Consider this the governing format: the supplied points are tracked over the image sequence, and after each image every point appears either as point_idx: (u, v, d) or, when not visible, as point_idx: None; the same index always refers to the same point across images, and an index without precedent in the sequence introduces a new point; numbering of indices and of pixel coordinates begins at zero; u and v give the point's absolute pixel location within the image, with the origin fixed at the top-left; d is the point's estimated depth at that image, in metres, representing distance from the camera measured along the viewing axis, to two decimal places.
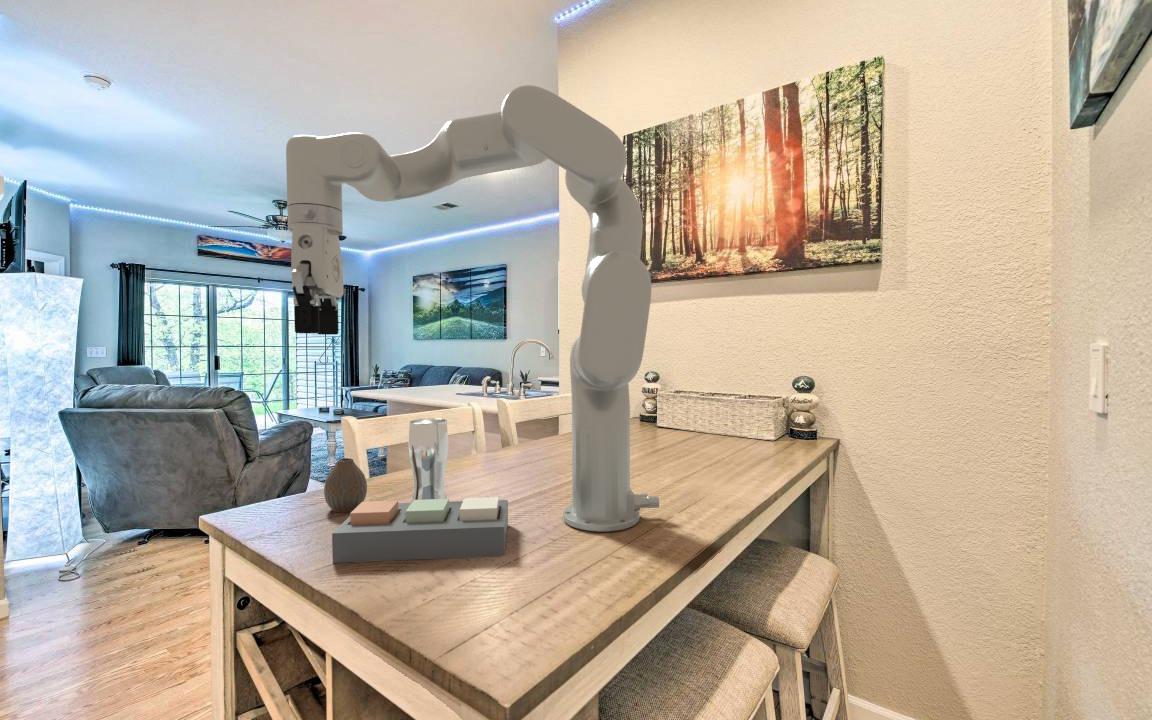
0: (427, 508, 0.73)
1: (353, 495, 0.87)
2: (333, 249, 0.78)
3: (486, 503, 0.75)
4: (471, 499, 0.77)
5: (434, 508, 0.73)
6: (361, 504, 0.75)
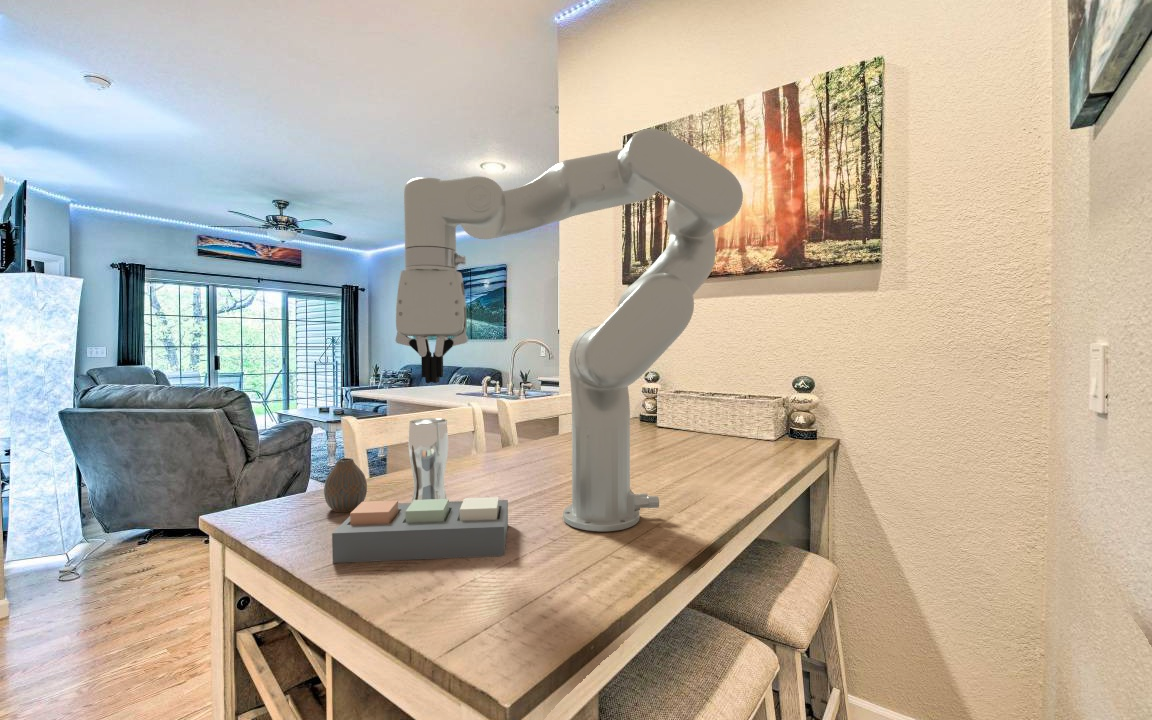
0: (427, 508, 0.73)
1: (353, 495, 0.87)
2: None
3: (486, 503, 0.75)
4: (471, 499, 0.77)
5: (434, 508, 0.73)
6: (361, 504, 0.75)
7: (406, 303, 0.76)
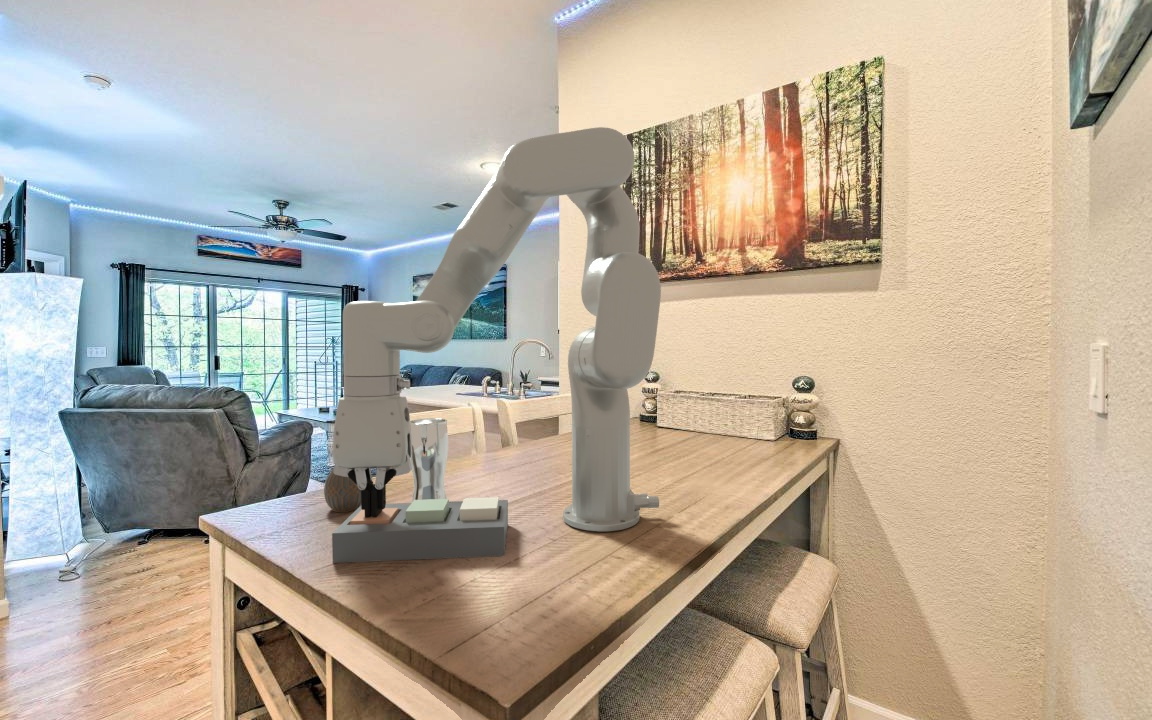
0: (427, 508, 0.73)
1: (353, 495, 0.87)
2: None
3: (486, 503, 0.75)
4: (471, 499, 0.77)
5: (434, 508, 0.73)
6: (361, 512, 0.75)
7: (343, 435, 0.71)
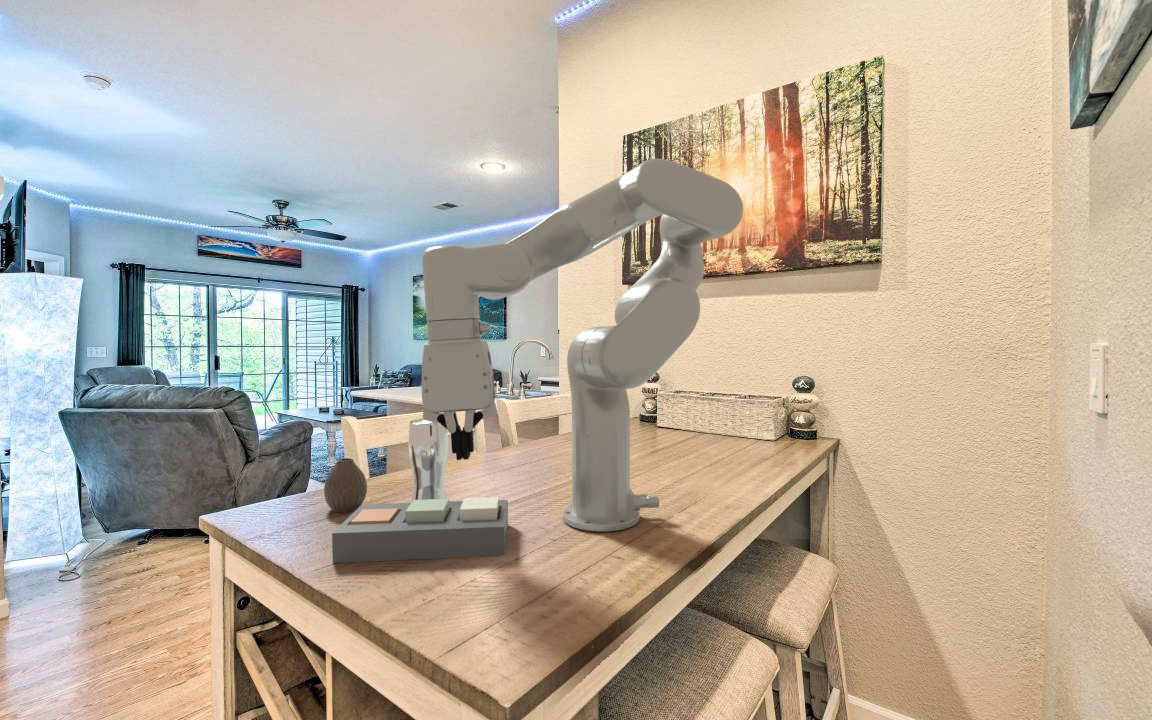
0: (427, 508, 0.73)
1: (353, 495, 0.87)
2: None
3: (486, 503, 0.75)
4: (471, 499, 0.77)
5: (434, 508, 0.73)
6: (361, 512, 0.75)
7: (432, 379, 0.72)
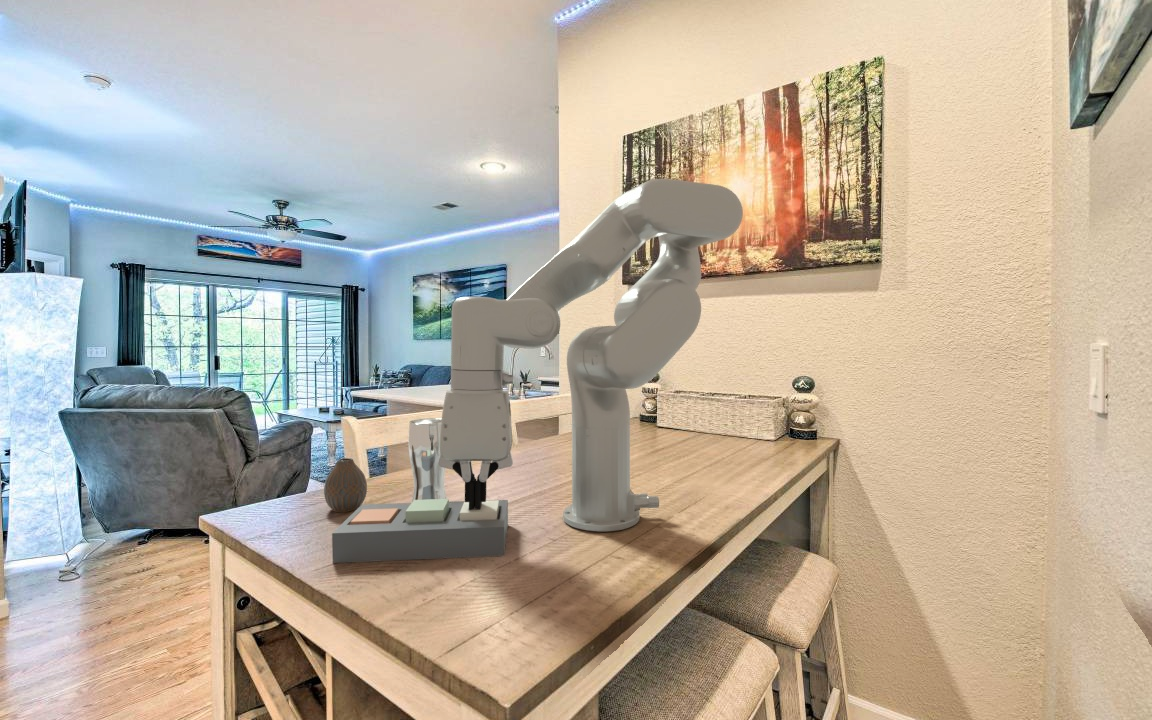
0: (427, 508, 0.73)
1: (353, 494, 0.87)
2: None
3: (486, 506, 0.75)
4: None
5: (434, 508, 0.73)
6: (361, 512, 0.75)
7: (451, 427, 0.72)
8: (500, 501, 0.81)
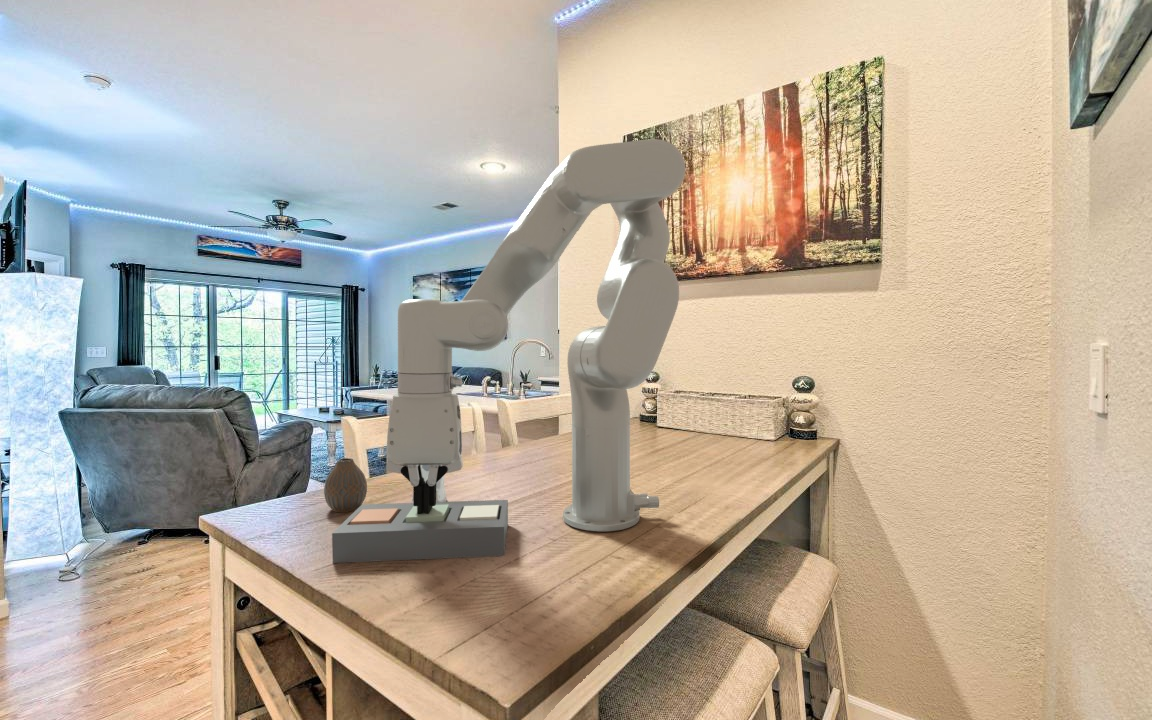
0: (427, 514, 0.73)
1: (353, 495, 0.87)
2: None
3: (486, 511, 0.75)
4: (471, 506, 0.77)
5: (434, 514, 0.73)
6: (361, 512, 0.75)
7: (398, 431, 0.71)
8: (500, 501, 0.81)
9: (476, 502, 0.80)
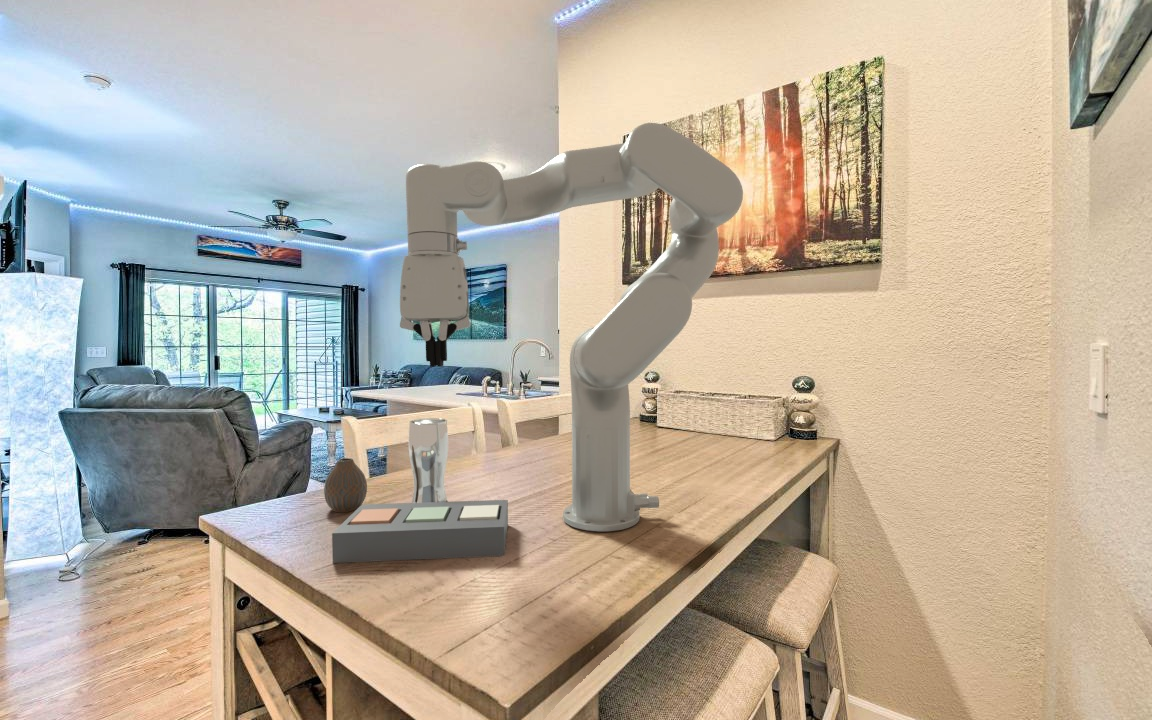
0: (427, 517, 0.73)
1: (353, 495, 0.87)
2: None
3: (486, 511, 0.75)
4: (471, 506, 0.77)
5: (434, 516, 0.73)
6: (361, 512, 0.75)
7: (410, 288, 0.77)
8: (500, 501, 0.81)
9: (476, 502, 0.80)
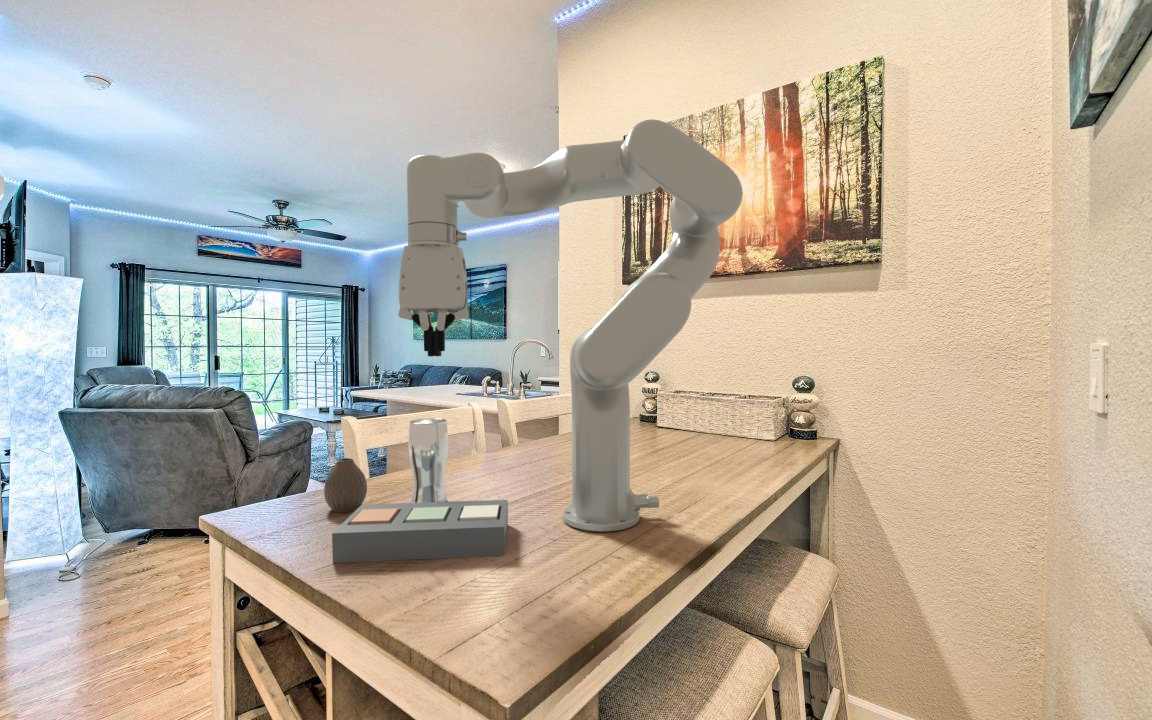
0: (427, 517, 0.73)
1: (353, 495, 0.87)
2: None
3: (486, 511, 0.75)
4: (471, 506, 0.77)
5: (434, 516, 0.73)
6: (361, 512, 0.75)
7: (409, 278, 0.78)
8: (500, 501, 0.81)
9: (476, 502, 0.80)
